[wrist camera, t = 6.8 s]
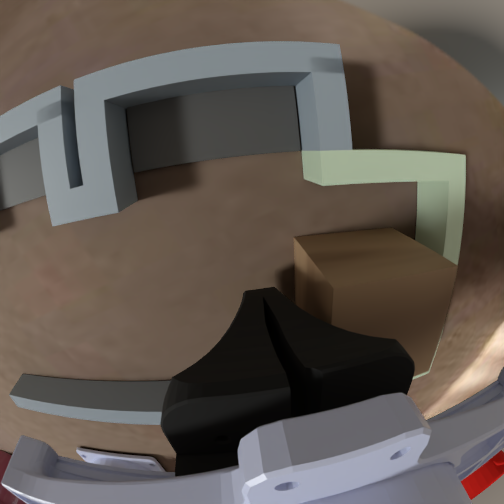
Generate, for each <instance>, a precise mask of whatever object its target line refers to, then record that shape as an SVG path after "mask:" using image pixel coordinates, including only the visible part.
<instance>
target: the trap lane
mask: <svg viewBox="0 0 504 504" xmlns="http://www.w3.org/2000/svg"><path fill="white" fill-rule="evenodd" d="M294 87H295V92H296V100H297V109H298V118H299V128H300V138H301V149H302V161H303V174H304V179H305V180H308V181H311V182H314V183H316V184H319V185H322V186H327V185H342V184H359V183H380V182H411V181H418V187H417V219H416V235H415V241H417V242H419V243H421V244H422V245H424V246H426V247H428V248H429V249H431V250H433V251H434V252H436V253H438V254H440V255H441V256H443V257H445V258H446V259H448V260H450V261H451V262H453V263H455V264H456V265H458V259H459V253H460V246H461V238H462V229H463V219H464V206H465V184H466V155H462V154H454V153H445V152H435V151H420V150H398V149H352V137H351V126H350V115H349V106H348V98H347V90H346V82H345V75H344V69H343V62H342V56H341V50H340V45H339V44H329V43H316V42H290V41H272V42H246V43H232V44H221V45H212V46H204V47H197V48H191V49H184V50H179V51H173V52H168V53H163V54H158V55H154V56H150V57H145V58H141V59H137V60H134V61H130V62H126V63H123V64H119V65H116V66H113V67H109V68H106V69H103V70H100V71H97V72H94V73H91V74H89V75H86V76H83V77H80V78H78V79H75V80H74V90H73V89H70V88H67V87H64V86H61V85H60V86H58V87H56V88H54V89H51V90H49V91H47V92H45V93H43V94H40V95H38V96H36V97H34V98H32V99H30V100H28V101H26V102H24V103H23V104H21V105H19V106H17V107H15V108H13V109H12V110H10V111H8V112H6V113H5V114H3V115H1V116H0V210H3V209H6V208H8V207H11V206H14V205H17V204H20V203H23V202H26V201H29V200H32V199H35V198H38V197H41V196H44V195H46V198H47V203H48V208H49V213H50V217H51V222H52V226H57V225H61V224H65V223H70V222H74V221H79V220H84V219H89V218H93V217H98V216H103V215H108V214H113V213H119V212H120V211H122V210H123V209H125V208H127V207H128V206H130V205H131V204H133V203H135V202H136V201H138V198H137V193H136V186H135V180H134V173H135V172H140V171H145V170H150V169H155V168H161V167H166V166H172V165H178V164H184V163H190V162H197V161H204V160H211V159H219V158H227V157H235V156H244V155H254V154H265V153H277V152H290V151H300V139H299V129H298V119H297V110H296V101H295V93H294ZM126 109H127V114H126ZM127 117H128V125H127ZM128 127H129V135H128ZM129 137H130V143H129ZM130 145H131V152H130ZM131 153H132V159H131ZM132 161H133V167H132ZM133 168H134V173H133ZM442 331H443V330H442ZM440 338H441V337H440ZM439 341H440V340H439ZM438 344H439V343H438ZM437 347H438V346H437ZM436 350H437V349H436ZM435 353H436V352H435ZM434 356H435V355H434ZM433 359H434V358H433ZM432 362H433V360H432ZM431 365H432V363H431ZM430 368H431V366H430ZM430 368H429V371H430ZM429 371H428V372H425V373H422V374H420V375H417V376H414V377H413V379H415V378H418V377H420V376H423V375H425V374H428V373H429ZM169 384H170V381H92V380H75V379H63V378H52V377H43V376H35V375H27V374H22V375H21V377H20V379H19V380H18V382H17V383H16V385H15V386H14V388H13V389H12V391H11V392H10V394H9V395H10V397H11V398H12V399H13V401H14V402H15V404H16V405H17V406H18V407H21V408H25V409H29V410H34V411H38V412H43V413H48V414H53V415H58V416H64V417H70V418H77V419H84V420H92V421H101V422H112V423H126V424H148V425H161V424H160V422H161V415H162V408H163V402H164V398H165V395H166V392H167V389H168V386H169Z"/></svg>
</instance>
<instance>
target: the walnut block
mask: <svg viewBox="0 0 504 504" xmlns="http://www.w3.org/2000/svg"><path fill="white" fill-rule="evenodd" d="M294 261H295V304H296V305H297V306H298V307H300V308H301V309H303V310H304V311H306V312H307V313H309V314H311V315H312V316H314V317H316V318H318V319H320V320H322V321H324V322H326V323H328V324H331V325H333V326H336V327H339V328H342V329H345V330H347V331H351V332H355V333H359V334H363V335H368V336H373V337H381V338H390V339H396V340H397V341H398V342H399V343H400V344H401V345H402V346H403V347H404V349H405V350H406V351H407V353H408V354H409V355H410V357H411V358H412V359H413V361H414V364H415V372H414V376H417V375H420V374H422V373H425V372H428V371H429V368H430V366H431V363H432V360H433V358H434V355H435V352H436V349H437V346H438V343H439V340H440V337H441V334H442V330H443V327H444V324H445V320H446V316H447V313H448V309H449V305H450V301H451V297H452V293H453V289H454V284H455V279H456V274H457V269H458V265H456V264H455V263H453V262H451V261H450V260H448V259H446V258H445V257H443V256H441V255H440V254H438V253H436V252H434V251H433V250H431V249H429V248H428V247H426V246H424V245H422V244H421V243H419V242H417V241H415V240H413V239H412V238H410V237H408V236H406V235H404V234H402V233H401V232H399V231H397V230H395V229H393V228H380V229H369V230H359V231H348V232H338V233H328V234H318V235H308V236H298V237H294ZM414 376H413V377H414Z"/></svg>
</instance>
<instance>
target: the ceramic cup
mask: <svg viewBox="0 0 504 504" xmlns="http://www.w3.org/2000/svg"><path fill="white" fill-rule="evenodd" d="M503 474H504V452H503V451H502V450H500V451H499V452H498V453H497V454H496V455H495V456H493V457H492V458H491V459H490V460H488V461H487V462H486V463H485V464H483V465H482V466H481V467H480V468H478V469H477V470H476V471H474V472H473V473H472V474H470V475H469V476H468V477H466V478H465V479H463V480H462V481H461V483H462V485H463V487H464V489H465V490H466V492H467V494H468V496H469V498H470V500H472V499H473V498H474V497H476V496H477V495H478V494H480V493H481V492H482V491H484V490H485V489H486V488H488V487H489V486H490V485H491V484H492V483H494V482H495V481H496V480H497V479H498V478H500V477H501V476H502V475H503Z"/></svg>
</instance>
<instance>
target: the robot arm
mask: <svg viewBox="0 0 504 504" xmlns="http://www.w3.org/2000/svg"><path fill="white" fill-rule="evenodd" d="M414 372H415V364H414V361H413V359H412V358H411V357H410V355H409V354H408V353H407V351H406V350H405V349H404V347H403V346H402V345H401V344H400V343H399V342H398V341H397V340H396V339H390V338H381V337H373V336H368V335H363V334H359V333H355V332H351V331H347V330H345V329H342V328H339V327H336V326H333V325H331V324H328V323H326V322H324V321H322V320H320V319H318V318H316V317H314V316H312V315H311V314H309V313H307V312H306V311H304V310H303V309H301V308H300V307H298V306H297V305H296V304H294V303H293V302H292V301H290V300H289V299H288V298H287V297H285V296H284V295H283V294H282V293H281V292H280V291H278V290H277V289H276V288H275V287H271V288H263V289H256V290H248V291H245V292H244V293H243V299H242V302H241V305H240V307H239V310H238V312H237V314H236V316H235V318H234V320H233V322H232V323H231V325H230V327H229V329H228V330H227V332H226V333H225V334H224V336H223V337H222V338H221V340H220V341H219V342H218V343H217V344H216V345H215V346H214V348H213V349H212V350H211V351H210V352H209V353H207V354H206V355H205V356H204V357H203V358H202V359H200V360H199V361H198V362H196V363H195V364H193V365H192V366H191V367H189V368H187V369H186V370H184V371H182V372H181V373H179V374H177V375H175V376H174V377H172V379H171V381H170V384H169V386H168V389H167V392H166V395H165V398H164V402H163V408H162V415H161V422H160V424H161V427H162V430H163V432H164V434H165V436H166V437H167V439H168V441H169V442H170V444H171V446H172V447H173V449H174V450H175V452H176V453H177V454H176V467H175V472H166V471H165V470H164V469H163V468H162V466H161V465H160V464H159V462H158V461H157V460H156V459H155V458H153V457H150V456H137V455H126V454H117V453H109V452H102V451H95V450H89V449H84V448H77V450H76V452H77V453H78V454H79V455H80V456H81V457H82V458H83V459H84V460H85V461H86V462H83V461H79V460H74V459H70V458H66V457H62V456H58V455H57V453H56V452H55V451H54V450H53V449H52V448H51V447H50V446H49V445H48V444H46V443H45V442H43V441H40V440H37V439H33V438H30V437H27V436H24V435H21V437H20V439H19V441H18V443H17V445H16V448H15V450H14V452H13V454H12V457H11V459H10V461H9V464H8V466H7V469H6V471H5V474H4V476H3V479H2V481H1V484H2V486H4V487H5V488H6V489H7V490H9V491H10V492H11V493H13V494H14V495H15V496H17V497H18V498H19V499H21V500H22V501H23V502H25V503H26V504H473V503H472V502H471V500H470V498H469V496H468V494H467V492H466V490H465V489H464V487H463V485H462V483H461V481H462V480H463V479H465V478H466V477H468V476H469V475H470V474H472V473H473V472H474V471H476V470H477V469H478V468H480V467H481V466H482V465H483V464H485V463H486V462H487V461H488V460H490V459H491V458H492V457H493V456H495V455H496V454H497V453H498V452H499V451H500V450H502V449H503V448H504V367H503V369H502V370H501V372H500V374H499V376H498V380H497V381H495V382H494V383H492V384H491V385H489V386H487V387H486V388H484V389H483V390H481V391H480V392H478V393H476V394H475V395H473V396H471V397H470V398H468V399H466V400H464V401H463V402H461V403H459V404H457V405H455V406H454V407H452V408H450V409H448V410H446V411H444V412H442V413H440V414H438V415H436V416H434V417H432V418H430V419H428V420H425V418H424V417H423V415H422V414H421V412H420V411H419V409H418V408H417V406H416V405H415V403H414V401H413V400H412V398H411V397H409V396H407V393H408V390H409V388H410V385H411V382H412V379H413V376H414Z"/></svg>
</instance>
